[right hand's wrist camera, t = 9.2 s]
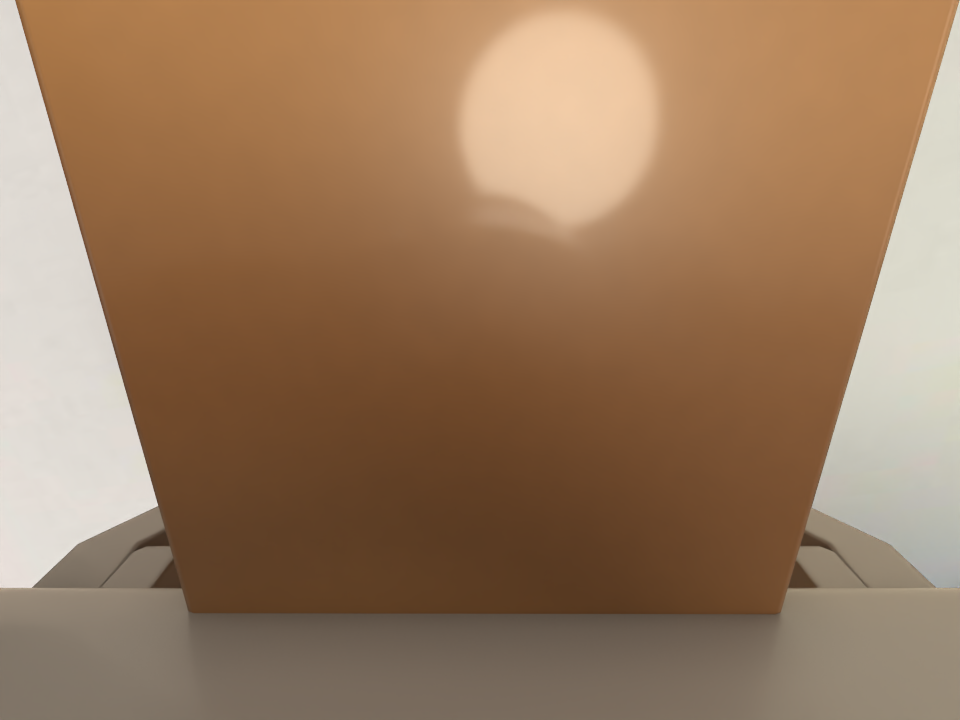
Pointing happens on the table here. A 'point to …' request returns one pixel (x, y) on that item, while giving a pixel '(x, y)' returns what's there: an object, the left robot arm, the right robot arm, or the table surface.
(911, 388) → the table surface
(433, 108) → the bar
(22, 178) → the table surface
